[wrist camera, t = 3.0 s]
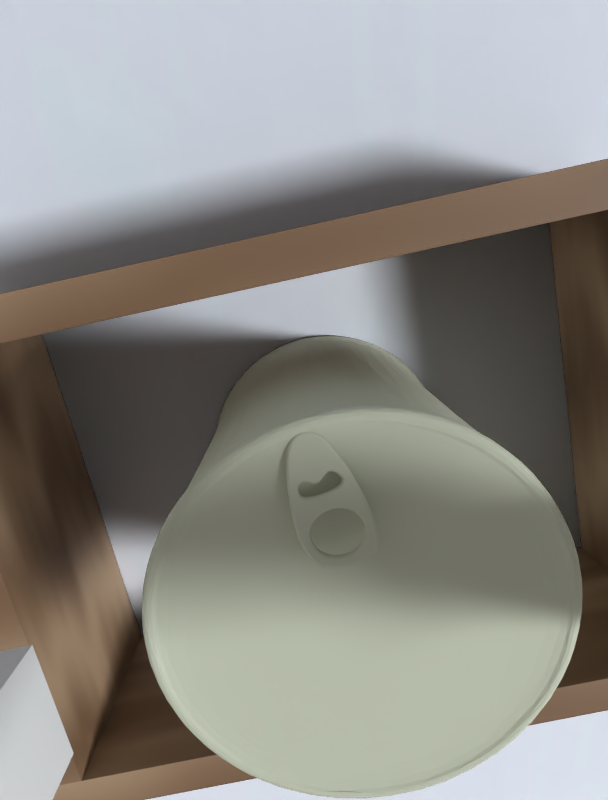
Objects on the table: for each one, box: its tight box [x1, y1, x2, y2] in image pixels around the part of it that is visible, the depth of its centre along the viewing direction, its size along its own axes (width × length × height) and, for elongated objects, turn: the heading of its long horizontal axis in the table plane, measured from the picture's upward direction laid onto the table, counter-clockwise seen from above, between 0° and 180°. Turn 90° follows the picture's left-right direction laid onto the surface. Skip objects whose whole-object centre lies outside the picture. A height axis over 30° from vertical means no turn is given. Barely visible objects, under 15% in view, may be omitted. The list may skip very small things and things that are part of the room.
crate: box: [0, 159, 608, 800], centre depth 19 cm, size 16×22×7 cm
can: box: [142, 336, 582, 798], centre depth 16 cm, size 9×9×12 cm
